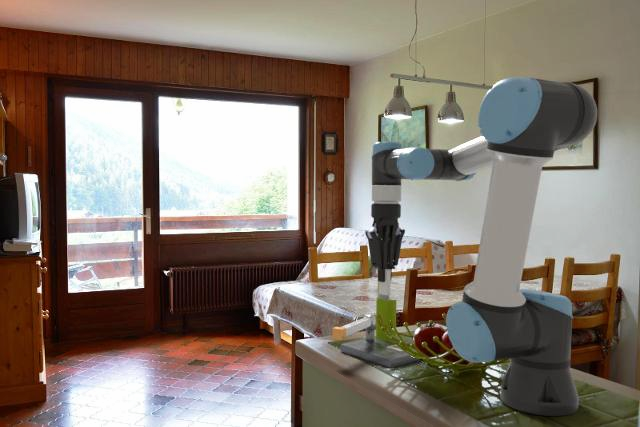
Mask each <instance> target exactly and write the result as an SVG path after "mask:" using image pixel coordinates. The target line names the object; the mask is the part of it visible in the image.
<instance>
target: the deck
mask: <svg viewBox="0 0 640 427" xmlns="http://www.w3.org/2000/svg"><path fill="white" fill-rule="evenodd" d="M396 344H397V343H396ZM396 344H394V343H391V342H387V341H384V340H380V339H377V338H376V337H375V329H365V338H363V339H358V340H354V341H350V342H344V343H341V344H340V352H341V353H344V354H347V355H350V356H353V357H356V358H360V359H362V360H364V361H368V362H370V363H374V364H377V365H380V366H383V367H386V368H389V369H391V368H395V367H399V366H403V365H407V364H409V363H413V362H417V361H419V360H418V359H416V358H413V357H411V356H410V355H408V354H407V353H406V352H404V351H403V350H401V348H400V347H398V346H397V345H396Z"/></svg>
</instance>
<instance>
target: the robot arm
mask: <svg viewBox="0 0 640 427" xmlns="http://www.w3.org/2000/svg"><path fill="white" fill-rule="evenodd" d="M597 121H598V107H597V104H596V101H595V99H594V97H593V95H592V94H591V93H590V92H589V91H588V89H586V88H584V87H582V86H581V85H578V84H575V83H573V82H566V81H556V80H550V79H549V80H547V79H541V78H533V77H530V76H529V77H528V76H525V77H521V76H519V77H518V76H517V77H514V76H513V77H506V78H504V79H501V80H499V81H497V82H496V83H495V84H494V85H493V87H490V88H489V89H488V91H487V92H486V94H484V97H483V99H482V101H481V103H480V106H479V110H478V116H477V122H478V124H477V126H478V127H479V128H480V130H479V131H480V136H478V137H476V138H474V139H471V140H469V141H467V142H464V143H462V144H459V145H458V146H455V147H452V148H449V149H443V148H442V149H439V148H438V149H437V148H425V147H421V146H409V147H405V148H403V146H402V143H401V142H400V141H377V142H375V143H373V145H372V153H371V154H372V155H371V201H372V202H373V203H372V204H371V205H370V207H371V208H370V210H371V211H370V212H371V213H370V216H371V218H373V222H372V226H371V228H370V229H369V230H365V231H364V233H365V234H364V235H365V236H366V239H367V242H368V249H369V256H370V262H371V267H373V268H375V269H377V283H378V282H379V294H382V295H389V296H390V295H391V282H392V277H393V276H392V275H393V274H392V273H393V270H395V269H396V266H397V267H398V265H399V261H400V260H399V259H400V254H401V253H400V252H401V249H402V248H401V247H402V244H403V237H404V236H405V233H406V229H404V228H401V227H400V223H399V219H400V218H401V216H402V214H401V210H402V205H401V204H400V202H401V201H402V180H411V181H413V180H415V181H416V180H417V181H418V180H419V181H420V180H426V181H429V180H431V181H432V180H433V181H434V180H435V181H440V180H441V181H455V182H459V181H468V180H469V181H470V180H471V179H473V178H474V176H475V175H476V174H477V173H478V172H481V171H484V170H487V169H490V168H491V174H490V179H489V185H488V192H487V198H486V204H485V210H484V216H483V222H482V227H481V234H480V240H479V244H478V253H477V260H476V265H475V270H474V277H473V281H471V282H470V283H467V284H466V285H465V286H464V287H463V293H462V300H461V301H457V302H455V303H453V304H452V306H450V307H449V308H448V311H447V314H446V318H445V319H446V321H445V323H446V324H445V325H446V331H447V335H448V336H447V337H448V338H449V341H450V344H451V345H452V347H453V349H454V350H455V352H456V353H457V354H458V355H459V356H460V357H461V358H463V360H465V361H467V362H469V363H473V364H474V363H476V364H477V363H492V362H494V361H500V360H502V361H503V360H507V359H509V365H508V366H507V367H508V368H507V369H506V373H505V375H504V378H503V380H502V383H501V385H500V400H501V402H502V403H503V404H504V405H506V406H508V407H510V408H512V409H514V410H516V411H519V412H523V413H527V414H532V415H538V416H547V417H548V416H549V417H562V416H567V415H568V416H569V415H572V414H574V413H576V412H577V411H578V410H579V402H580V401H579V399H580V398H579V393H578V392H577V391H578V390H577V388H576V385H575V384H576V383H575V380H574V377H573V374H572V371H571V358H572V357H571V355H572V333H573V332H572V331H573V319H574V315H573V306H572V302H571V300H570V299H569V298H568V297H567V296H566V295H562V294H557V293H554V292H553V293H552V292H547V291H542V290H536V289H535V290H534V289H528V288H527V289H526V288H521V283H522V278H523V272H524V266H525V261H526V256H527V252H528V246H529V245H528V244H529V240H530V239H529V238H530V235H531V234H530V233H531V228H532V223H533V218H534V212H535V207H536V203H537V202H536V201H537V196H538V190H539V185H540V181H541V174H542V170H543V166H545V165H546V164H547V163H548V162H550V161H551V160H553V158H554V155H555V151H558V150H561V149H565V148H567V147H568V148H569V147H570V146H571V147H572V146H574V145H577V144H578V143H582V142H583V141H584V140H585V139H586V138H588V136H589V135H590V134H591V133H592V131H593V130H594V128H595V126H596V124H597Z"/></svg>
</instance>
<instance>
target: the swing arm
mask: <svg viewBox="0 0 640 427" xmlns="http://www.w3.org/2000/svg"><path fill="white" fill-rule="evenodd" d="M364 329H365V330H366V329H374V330H376V314H373V313H365V314H364V317H363V318H360V319H358V320H355V321H352V322H349V323H347V324H345V325H343V326H342V325H341V326H334V327H332V340H338V341H344V340H346V339H347V336H351V335H353V334H355V333H357V332H360V331H362V330H364Z"/></svg>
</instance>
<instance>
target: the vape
mask: <svg viewBox="0 0 640 427" xmlns="http://www.w3.org/2000/svg"><path fill="white" fill-rule="evenodd" d="M375 304H376V307H375V308H376V310H375V311H376V314H375V315H376V317H377V315H378V314H379V315H380V316H381V318H382V321H383V323H384V324H385V325H386V327H387V329H388V332H389V333H390V334H391V335H393V336H396V337H397V333H396V334H395V333H394V332H393V330H392V328H391V325H390V320H392V322H393V325H394V327H395V328H396V329H397V298H395V297H391V296H390V295H382V294H379V282H378V281H377V296H376V303H375ZM375 338H377V339H380V340H384V341H387V342H391V343H394V342H393V341H391V339H390V338H389V337H388V336H387V334H386V333H385V332H384V331H383V330H382V329H381V327H380V325H379V323H378V321H377V318H376V329H375ZM394 344H395V343H394Z"/></svg>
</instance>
